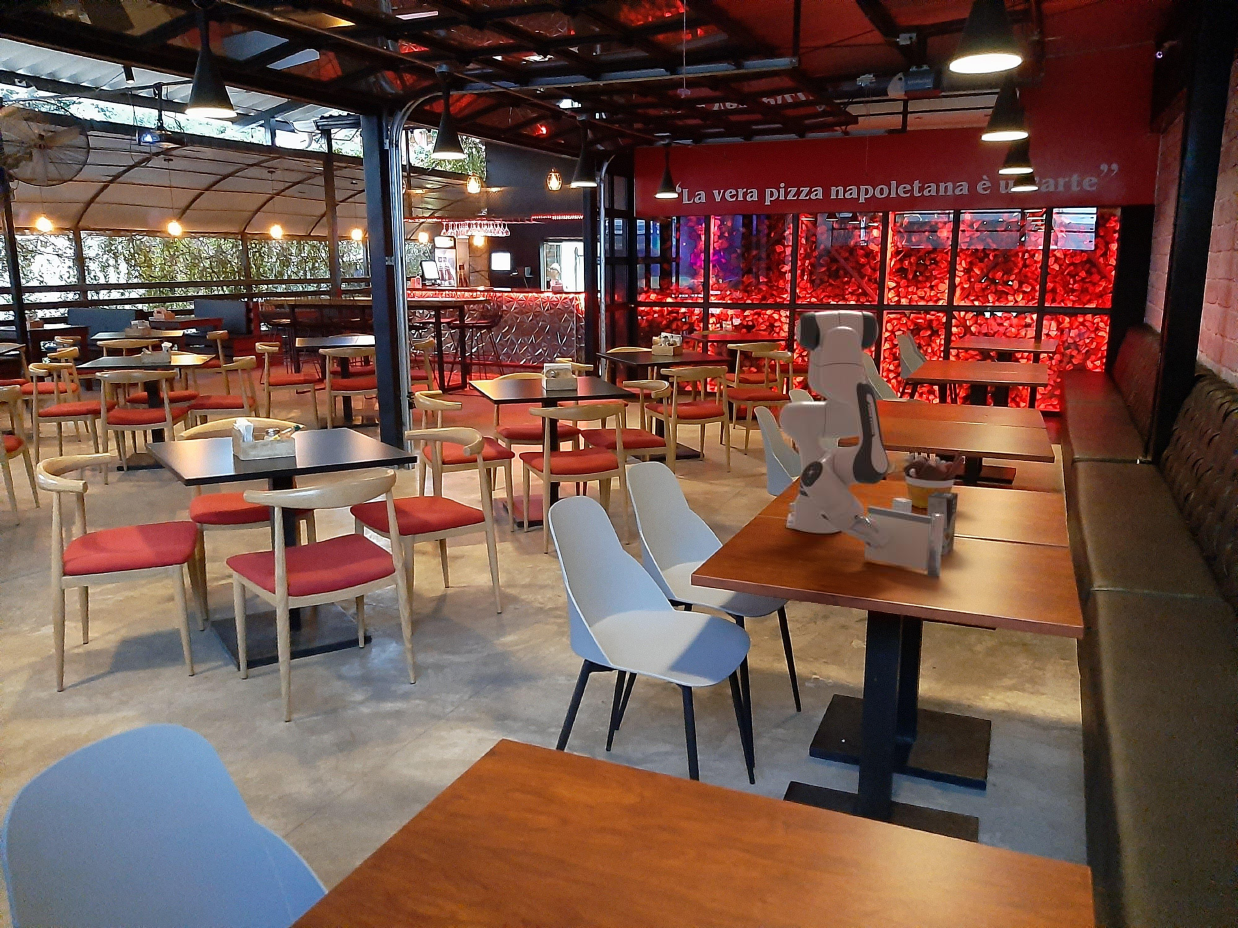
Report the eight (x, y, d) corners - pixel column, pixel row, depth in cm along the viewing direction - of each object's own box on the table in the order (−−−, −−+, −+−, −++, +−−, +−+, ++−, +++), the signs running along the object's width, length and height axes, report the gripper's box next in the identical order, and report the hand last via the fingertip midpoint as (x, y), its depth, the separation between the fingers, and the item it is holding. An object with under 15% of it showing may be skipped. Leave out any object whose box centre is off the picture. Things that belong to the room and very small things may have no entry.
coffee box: (947, 555, 248) (951, 499, 245) (923, 552, 251) (927, 496, 248) (953, 548, 256) (958, 492, 253) (930, 544, 259) (934, 490, 256)
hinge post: (925, 573, 232) (930, 513, 229) (937, 573, 232) (942, 513, 229) (929, 577, 229) (933, 516, 226) (941, 577, 229) (946, 516, 226)
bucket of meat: (896, 508, 302) (900, 450, 299) (901, 498, 317) (905, 442, 314) (960, 514, 295) (965, 454, 291) (961, 504, 310) (966, 447, 306)
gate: (928, 569, 232) (932, 516, 229) (925, 571, 231) (929, 518, 228) (867, 556, 243) (870, 506, 240) (864, 557, 242) (867, 506, 239)
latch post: (907, 558, 245) (911, 500, 242) (898, 559, 244) (902, 501, 241) (898, 554, 249) (902, 497, 246) (889, 555, 248) (893, 498, 245)
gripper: (878, 512, 224) (907, 547, 229) (830, 495, 242) (858, 527, 248) (861, 531, 223) (891, 565, 228) (815, 512, 242) (844, 544, 247)
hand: (874, 545), depth 238 cm, fingers closed
